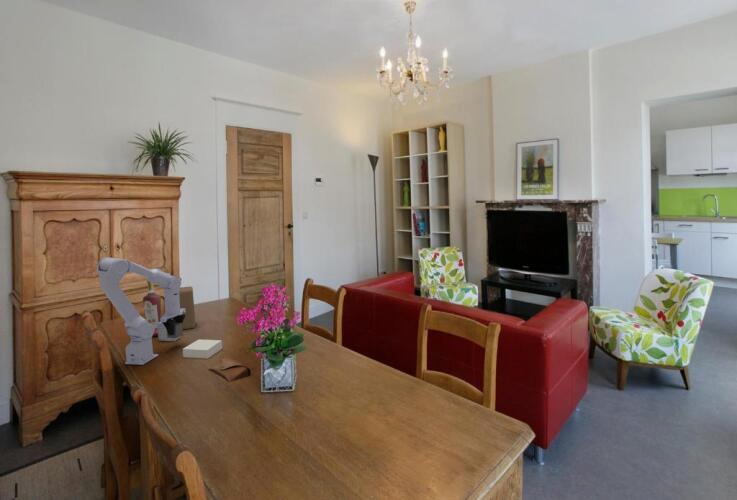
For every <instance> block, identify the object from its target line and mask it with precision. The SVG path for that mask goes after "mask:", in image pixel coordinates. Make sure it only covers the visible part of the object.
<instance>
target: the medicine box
mask: <svg viewBox="0 0 737 500" xmlns="http://www.w3.org/2000/svg"><path fill="white" fill-rule="evenodd" d="M157 328H158V336H157V337H158V341H159V342H176V341H177V340H179V339H180V337H181V336H180V337H178V338H167V330H166V328H165V326H164V325H163V323H162V322H159V323H157Z"/></svg>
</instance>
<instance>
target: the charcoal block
mask: <svg viewBox="0 0 737 500" xmlns="http://www.w3.org/2000/svg"><path fill="white" fill-rule="evenodd" d="M183 330H184V329H183V328H182V323H175V326H174V335H168V332H167V338H178V337H181V336H183V335H184V331H183Z"/></svg>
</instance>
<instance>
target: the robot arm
mask: <svg viewBox="0 0 737 500" xmlns="http://www.w3.org/2000/svg"><path fill="white" fill-rule="evenodd" d="M96 271H97V273H98V280H99V287H100V289H101V290H102V292H103V293H104V295H105V296H106V297H107V299H108V300H109V301H110V303H111V304H112V305H113V307H114V308H115V310H116V311H117V312H118V314H119V315H120V316H121V318H123V320H124V327H125V329H126V333H127V335H128V336H130V342H129V343H128V344H127V345H126V347H125V358H126V359H125V360H126V362H124V364H125V365H140V366H141V365H142V366H143V365H145V364H147V363H148V362H150V361H152V360H153V359H154V358H157V357H158V356H159V354H158V353H157V354H156V353H154V350H153V349H154V347H153V337H152V336H153V334H154V331H155V328H154V326H153V325H152V324H150V323H148V322H147V320H146V318H144V317H143V316H141V314H140V313H139V312H138V311H137V309H136V308H135V306H134V305H133V303H132V301H130V299H129V297H127V295H126V294H125V292H124V290H123V289H122V288H121V287H120V282H121V281H122V280H123V278H124V276H126V274H127V273H129V274H130V273H133V274H136V275H139V276H142V277H144V278H146V281H147V280H148V281H149V282H151V283H153V285H154V284H155V285H157V286H159V287H160V288H162V289H163V296H164V305H165V306H164V308H165V314H163V316H162V315H161V318H160V321H161V322H162V323H163V325H164V326H165V328H166V330H167V332H168V335H174V326H175V323H182V324H183V320H184V318H185V314H183V313H185V312H186V310H185V308H181V309H180V300H179V288H180V287H181V285H182V281H181V280H180V278H179V277H178V276H175V275H171V273H169V272H167V273H166V272H164V271H162V269H161V268H153V269H148V268H147V267H145V266H143V265H141V264H138V263H136V262H133V261H132V260H127V259H125V258H113V257H109V256H108V257H107V256H106V257H103V258H101V259H100V260H99V262H98V264H97V266H96Z"/></svg>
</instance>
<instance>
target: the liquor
mask: <svg viewBox="0 0 737 500" xmlns="http://www.w3.org/2000/svg"><path fill="white" fill-rule="evenodd" d="M146 284H147V294H146V295H145V296H144V297H142V300H143V301H142V302H143V308H144V314H145V319H146V320H147V322H148V323H150V324H152V325H153V326H154V328H155V331H154V334H153V336H152V338H153V337H155V338H156V337H158V328H157V323H159V322H161V321H160V318H161V317H162V304H161V303H162V301H161V295H160V294H157V293H156V292H155V286H154V283H151V282H149V281H148V280H147V279H146Z"/></svg>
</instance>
